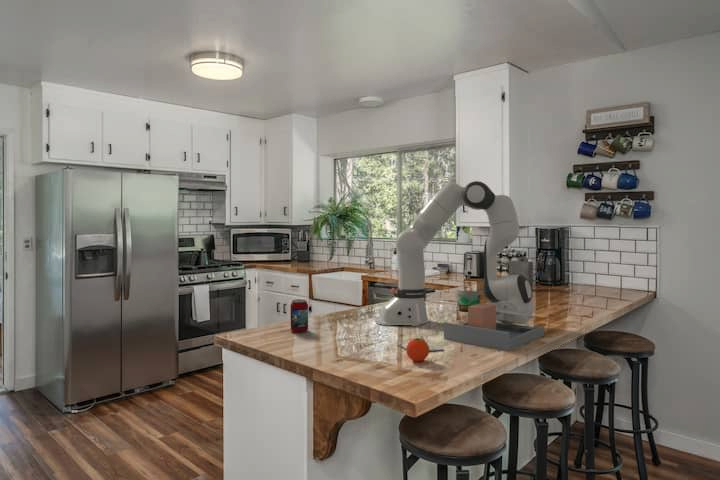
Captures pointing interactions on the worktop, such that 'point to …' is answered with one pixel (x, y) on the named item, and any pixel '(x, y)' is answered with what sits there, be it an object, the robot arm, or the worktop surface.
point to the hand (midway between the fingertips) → (491, 317)
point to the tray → (493, 335)
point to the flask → (522, 269)
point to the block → (482, 316)
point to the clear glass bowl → (426, 342)
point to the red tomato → (417, 349)
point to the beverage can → (299, 316)
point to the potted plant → (467, 299)
